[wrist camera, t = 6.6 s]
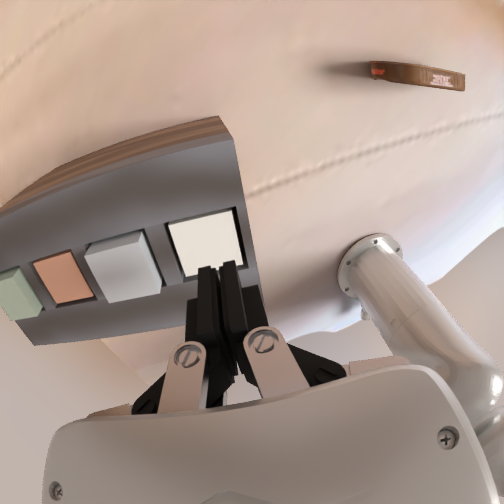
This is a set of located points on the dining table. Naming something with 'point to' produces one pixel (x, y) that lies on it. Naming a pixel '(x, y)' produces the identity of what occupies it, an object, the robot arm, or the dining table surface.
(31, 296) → the sage key
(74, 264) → the terracotta key
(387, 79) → the tin
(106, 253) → the grey key
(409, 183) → the dining table surface
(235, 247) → the cream key
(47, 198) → the console
